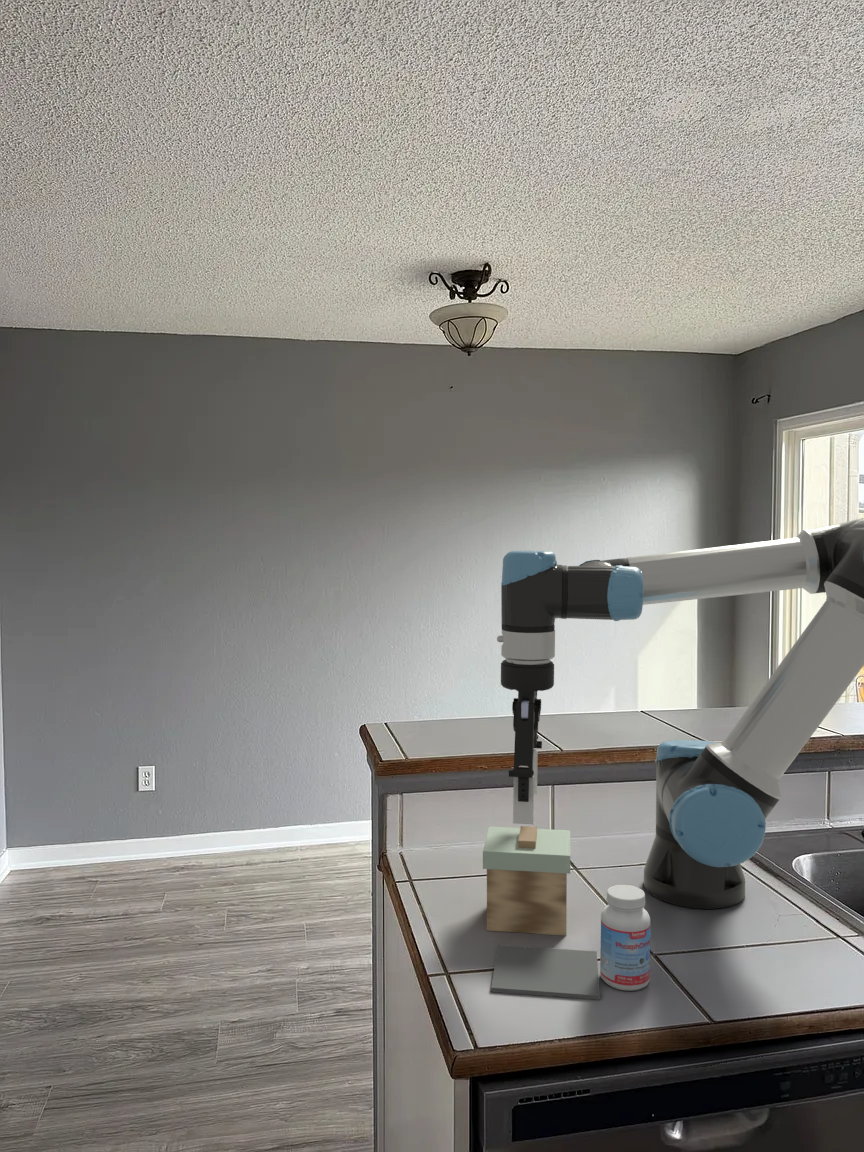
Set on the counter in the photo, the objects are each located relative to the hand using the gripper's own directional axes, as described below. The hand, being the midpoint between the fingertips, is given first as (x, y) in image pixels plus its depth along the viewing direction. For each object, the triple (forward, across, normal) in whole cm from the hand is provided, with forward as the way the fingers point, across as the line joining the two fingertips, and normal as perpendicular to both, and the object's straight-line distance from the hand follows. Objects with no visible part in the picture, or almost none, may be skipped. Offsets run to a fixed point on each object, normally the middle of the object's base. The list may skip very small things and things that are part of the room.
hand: (525, 807), depth 127 cm
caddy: (+16, 0, 0) cm, 16 cm away
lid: (+7, 0, 0) cm, 7 cm away
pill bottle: (+16, +15, +13) cm, 26 cm away
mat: (+16, +15, +4) cm, 22 cm away
